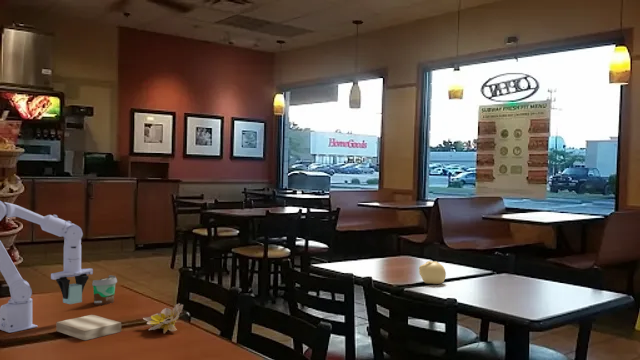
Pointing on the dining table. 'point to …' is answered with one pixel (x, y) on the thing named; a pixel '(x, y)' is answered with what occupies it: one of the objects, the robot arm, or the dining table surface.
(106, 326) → the flat cream rectangular board
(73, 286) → the teal block
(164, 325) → the decorative flower
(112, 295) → the food container
